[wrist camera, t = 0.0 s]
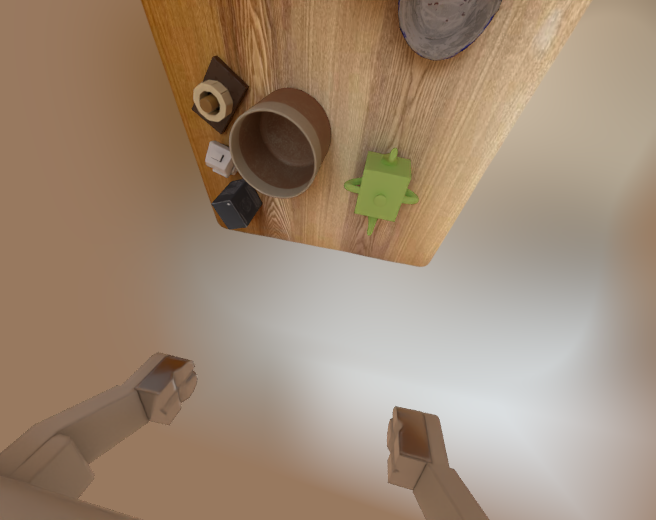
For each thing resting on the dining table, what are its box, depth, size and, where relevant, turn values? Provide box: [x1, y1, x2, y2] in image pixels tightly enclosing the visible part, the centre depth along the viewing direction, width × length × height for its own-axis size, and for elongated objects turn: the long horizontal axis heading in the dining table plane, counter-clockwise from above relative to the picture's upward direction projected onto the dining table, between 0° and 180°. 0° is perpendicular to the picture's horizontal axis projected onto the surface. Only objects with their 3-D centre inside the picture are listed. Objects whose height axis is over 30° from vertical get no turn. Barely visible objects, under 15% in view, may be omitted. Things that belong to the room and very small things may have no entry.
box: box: [212, 179, 262, 229], centre depth 65 cm, size 8×6×11 cm
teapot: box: [344, 148, 419, 236], centre depth 54 cm, size 15×13×11 cm
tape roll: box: [193, 80, 233, 122], centre depth 51 cm, size 6×7×3 cm
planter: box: [229, 88, 331, 199], centre depth 50 cm, size 16×16×14 cm
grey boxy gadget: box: [205, 141, 238, 178], centre depth 58 cm, size 6×7×10 cm
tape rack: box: [192, 56, 249, 134], centre depth 51 cm, size 12×7×6 cm, turn 139°
